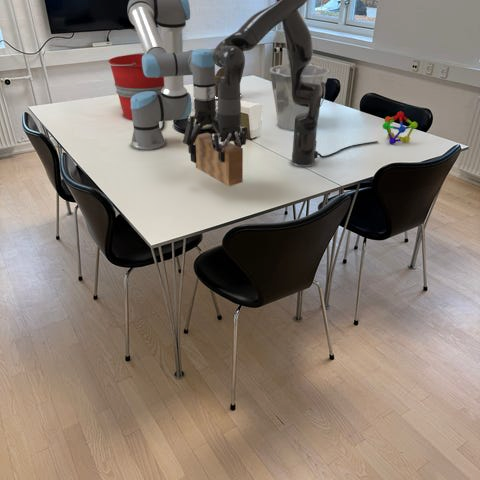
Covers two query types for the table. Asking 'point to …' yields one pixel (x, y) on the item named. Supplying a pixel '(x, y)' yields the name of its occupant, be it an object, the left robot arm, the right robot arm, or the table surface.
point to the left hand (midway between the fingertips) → (206, 158)
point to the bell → (218, 75)
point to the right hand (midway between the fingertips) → (229, 159)
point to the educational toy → (398, 128)
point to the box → (212, 166)
